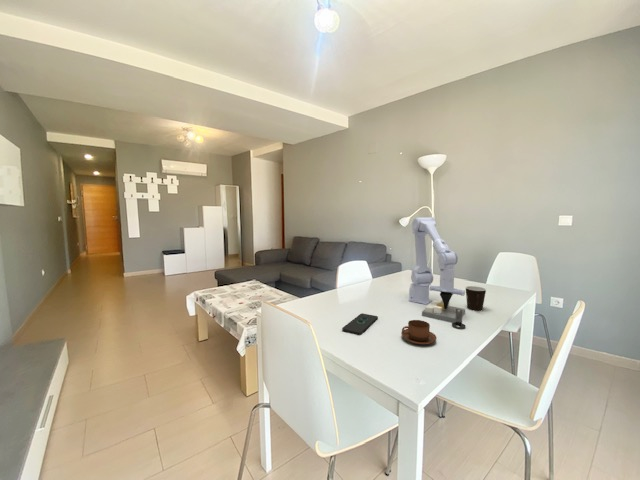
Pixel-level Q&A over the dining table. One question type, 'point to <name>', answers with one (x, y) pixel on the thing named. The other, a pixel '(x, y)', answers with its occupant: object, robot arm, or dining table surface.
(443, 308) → the block
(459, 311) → the black door knob
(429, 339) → the cup and saucer
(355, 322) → the smart home device
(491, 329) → the dining table surface
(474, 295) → the coffee mug
